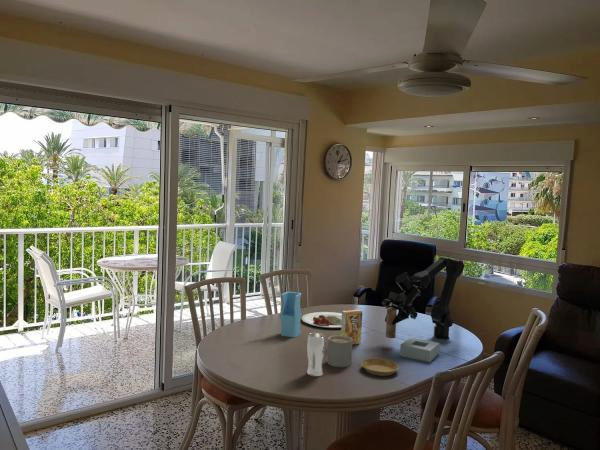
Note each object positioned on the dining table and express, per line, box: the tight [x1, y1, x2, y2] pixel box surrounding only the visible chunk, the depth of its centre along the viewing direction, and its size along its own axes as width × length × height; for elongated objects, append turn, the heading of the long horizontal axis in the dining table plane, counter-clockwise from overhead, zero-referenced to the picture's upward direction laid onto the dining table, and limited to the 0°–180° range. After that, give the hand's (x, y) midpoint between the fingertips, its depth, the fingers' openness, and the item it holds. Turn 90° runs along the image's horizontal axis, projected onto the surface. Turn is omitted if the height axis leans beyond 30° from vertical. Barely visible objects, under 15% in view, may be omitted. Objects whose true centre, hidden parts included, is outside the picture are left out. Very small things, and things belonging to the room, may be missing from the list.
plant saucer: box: [360, 358, 400, 377], centre depth 191 cm, size 15×15×3 cm
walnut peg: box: [385, 308, 398, 339], centre depth 221 cm, size 4×4×13 cm
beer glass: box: [306, 332, 326, 377], centre depth 185 cm, size 7×7×15 cm
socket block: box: [399, 337, 440, 363], centre depth 211 cm, size 13×13×5 cm
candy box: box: [340, 309, 363, 345], centre depth 223 cm, size 9×4×15 cm, turn 116°
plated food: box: [301, 311, 342, 329], centre depth 259 cm, size 30×30×3 cm
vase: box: [279, 291, 303, 338], centre depth 233 cm, size 8×8×20 cm
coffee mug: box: [326, 334, 353, 368], centre depth 199 cm, size 13×10×10 cm
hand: (388, 322), depth 220 cm, fingers closed on walnut peg, 4 cm apart
